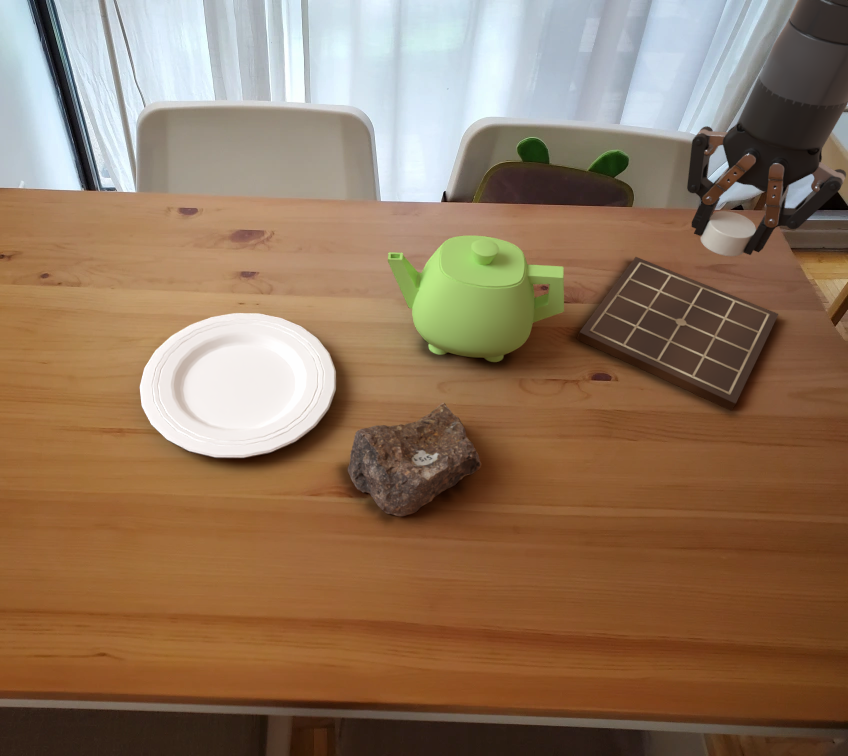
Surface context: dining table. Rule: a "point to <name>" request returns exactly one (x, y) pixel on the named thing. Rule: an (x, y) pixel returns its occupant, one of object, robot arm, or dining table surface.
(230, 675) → the dining table surface
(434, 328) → the teapot
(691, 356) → the board
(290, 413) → the plate
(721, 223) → the white cylindrical puck
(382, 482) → the rock
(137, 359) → the dining table surface
